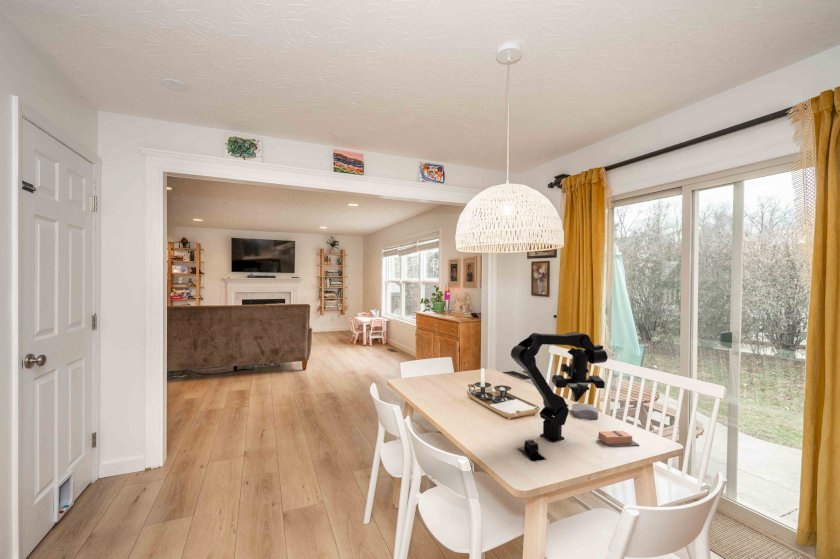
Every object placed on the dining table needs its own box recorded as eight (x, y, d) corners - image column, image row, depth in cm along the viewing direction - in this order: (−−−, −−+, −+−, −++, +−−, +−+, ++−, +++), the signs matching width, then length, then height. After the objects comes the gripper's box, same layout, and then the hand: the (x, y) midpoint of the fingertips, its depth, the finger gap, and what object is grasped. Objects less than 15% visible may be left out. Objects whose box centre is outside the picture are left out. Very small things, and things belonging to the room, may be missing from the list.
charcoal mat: (611, 446, 134) (611, 445, 134) (597, 437, 142) (597, 436, 142) (639, 445, 136) (639, 444, 136) (624, 436, 143) (624, 435, 143)
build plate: (551, 462, 123) (551, 449, 123) (531, 465, 121) (531, 451, 121) (530, 446, 135) (530, 433, 135) (512, 448, 133) (512, 435, 133)
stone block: (576, 422, 162) (600, 419, 160) (574, 411, 162) (598, 408, 161) (570, 413, 174) (593, 411, 172) (568, 403, 174) (591, 400, 172)
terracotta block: (606, 436, 136) (632, 435, 137) (598, 430, 140) (623, 429, 142) (606, 444, 136) (632, 443, 137) (598, 438, 140) (623, 437, 142)
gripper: (594, 356, 152) (590, 391, 155) (548, 356, 153) (545, 391, 156) (607, 368, 142) (603, 405, 145) (558, 367, 142) (555, 405, 145)
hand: (576, 401), depth 148 cm, fingers closed
